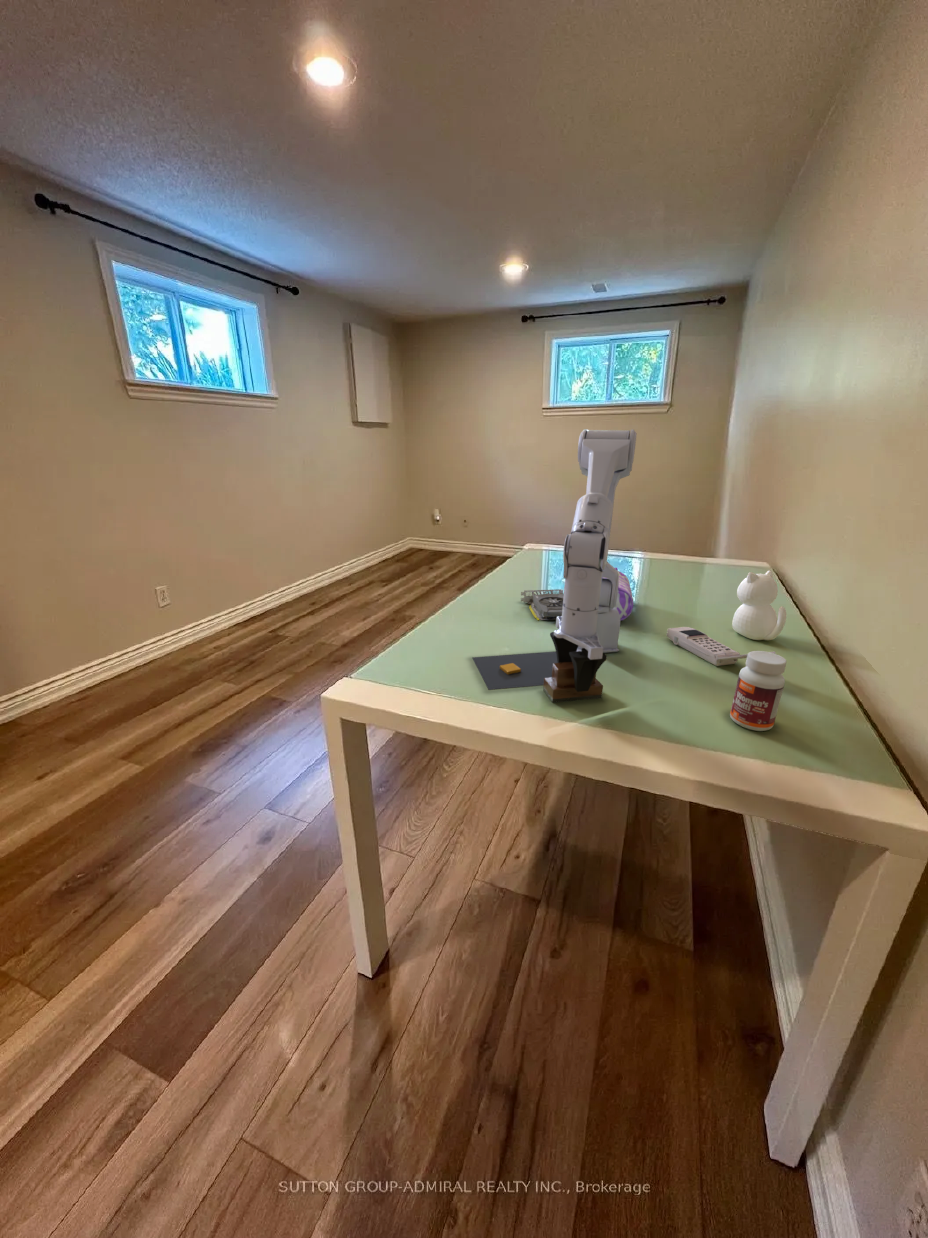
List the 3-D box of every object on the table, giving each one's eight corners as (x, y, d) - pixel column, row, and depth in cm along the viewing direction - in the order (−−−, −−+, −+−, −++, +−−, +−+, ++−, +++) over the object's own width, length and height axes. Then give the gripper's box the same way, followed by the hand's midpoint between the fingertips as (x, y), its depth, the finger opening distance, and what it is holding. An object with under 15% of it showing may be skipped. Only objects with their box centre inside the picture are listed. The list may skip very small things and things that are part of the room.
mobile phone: (753, 655, 88) (661, 611, 110) (745, 685, 90) (657, 635, 112) (778, 652, 90) (683, 609, 112) (771, 681, 92) (678, 633, 114)
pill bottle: (725, 722, 78) (739, 657, 74) (734, 707, 82) (748, 645, 78) (769, 737, 74) (786, 669, 70) (776, 720, 79) (793, 656, 75)
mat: (555, 653, 103) (555, 651, 103) (583, 683, 90) (583, 681, 90) (472, 659, 99) (472, 657, 99) (488, 691, 87) (488, 689, 86)
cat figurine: (746, 625, 120) (759, 565, 115) (794, 644, 109) (811, 578, 104) (718, 629, 117) (730, 568, 112) (764, 649, 106) (781, 582, 101)
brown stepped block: (590, 687, 88) (593, 657, 86) (601, 700, 84) (605, 668, 82) (542, 692, 87) (545, 661, 85) (552, 704, 83) (554, 672, 81)
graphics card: (520, 589, 135) (563, 588, 135) (519, 602, 136) (562, 600, 137) (532, 610, 119) (581, 608, 120) (532, 624, 120) (580, 622, 121)
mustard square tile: (512, 665, 96) (512, 662, 96) (521, 671, 93) (521, 668, 93) (499, 668, 95) (499, 665, 94) (507, 674, 92) (507, 671, 92)
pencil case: (594, 596, 141) (597, 564, 137) (627, 599, 139) (632, 567, 135) (595, 622, 120) (599, 585, 117) (634, 626, 118) (640, 588, 115)
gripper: (542, 594, 86) (537, 664, 90) (575, 622, 72) (567, 703, 77) (579, 592, 87) (573, 661, 92) (619, 619, 74) (609, 699, 78)
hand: (573, 680), depth 84 cm, fingers open, 7 cm apart
